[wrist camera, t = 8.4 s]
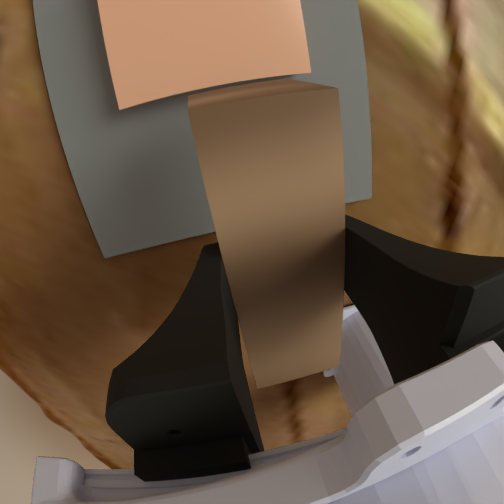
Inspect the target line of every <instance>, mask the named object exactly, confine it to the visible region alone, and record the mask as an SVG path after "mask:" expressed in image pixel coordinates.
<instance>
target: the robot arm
mask: <svg viewBox="0 0 504 504" xmlns="http://www.w3.org/2000/svg"><path fill="white" fill-rule="evenodd" d="M344 290H345V292H346V293H347V295H348V296H349V298H350V299H351V301H352V302H353V304H354V305H352V306H348V307H345V308H343V323H342V338H341V352H340V364H339V366H338V367H335V368H332V369H329V370H325V371H323V374H324V376H325V377H329V376H333V375H334V377H335V379H336V382H337V384H338V386H339V388H340V391H341V393H342V395H343V398H344V400H345V402H346V404H347V407H348V409H349V411H350V414H351V415H352V418H351V419H350V421H349V423H348V425H347V427H346V428H344V429H341V430H338V431H335V432H332V433H329V434H326V435H323V436H319V437H316V438H313V439H309V440H306V441H302V442H299V443H295V444H291V445H288V446H284V447H280V448H276V449H271V450H267V451H264V447H263V444H262V440H261V436H260V432H259V428H258V424H257V420H256V416H255V412H254V408H253V404H252V400H251V396H250V391H249V387H248V383H247V379H246V374H245V370H244V365H243V359H242V352H241V343H240V334H239V325H238V316H237V313H236V309H235V305H234V301H233V298H232V294H231V290H230V286H229V282H228V278H227V274H226V271H225V267H224V263H223V259H222V255H221V251H220V247H219V243H218V242H217V243H213V244H209V245H205V246H204V247H203V248H202V250H201V254H200V257H199V260H198V262H197V265H196V267H195V270H194V272H193V274H192V276H191V279H190V281H189V283H188V285H187V287H186V288H185V290H184V292H183V294H182V296H181V298H180V299H179V301H178V303H177V304H176V306H175V307H174V309H173V310H172V312H171V313H170V315H169V316H168V317H167V318H166V320H165V321H164V322H163V323H162V324H161V326H160V327H159V328H158V329H157V331H156V332H155V333H154V334H153V335H152V336H151V337H150V338H149V339H148V340H147V341H146V342H145V343H144V344H143V345H142V346H141V347H140V348H139V349H138V350H136V351H135V352H134V353H133V354H132V355H131V356H129V357H128V358H127V359H126V360H124V361H123V362H122V363H121V364H119V365H118V366H117V367H116V368H114V369H113V371H112V375H111V379H110V383H109V388H108V395H107V403H106V413H105V417H106V421H107V423H108V425H109V426H110V427H111V428H112V430H113V431H114V432H115V433H117V434H118V435H119V436H120V437H121V438H122V439H123V440H124V441H125V442H126V443H127V444H128V445H130V446H131V447H132V448H133V449H134V469H110V470H98V469H97V470H95V469H84V468H83V467H82V466H80V465H79V464H78V463H76V462H75V461H72V460H70V459H66V458H58V457H57V458H56V457H42V456H38V457H36V464H35V471H34V479H33V488H32V498H31V504H504V257H489V256H476V255H468V254H461V253H455V252H450V251H445V250H441V249H436V248H432V247H429V246H425V245H422V244H419V243H415V242H412V241H409V240H406V239H404V238H401V237H398V236H396V235H393V234H391V233H388V232H386V231H383V230H381V229H378V228H376V227H374V226H372V225H369V224H367V223H365V222H362V221H360V220H358V219H355V218H353V217H350V216H347V215H345V278H344Z"/></svg>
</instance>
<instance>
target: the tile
mask: <svg viewBox="0 0 504 504" xmlns="http://www.w3.org/2000/svg"><path fill="white" fill-rule="evenodd" d="M97 1H98V7H99V13H100V19H101V25H102V31H103V36H104V42H105V47H106V52H107V57H108V62H109V67H110V71H111V76H112V81H113V85H114V89H115V94H116V98H117V102H118V106H119V110H122V109H125V108H128V107H131V106H135V105H138V104H142V103H145V102H149V101H152V100H156V99H160V98H164V97H168V96H172V95H176V94H180V93H184V92H188V91H193V90H197V89H202V88H207V87H212V86H217V85H222V84H228V83H234V82H239V81H246V80H252V79H259V78H266V77H274V76H282V75H291V74H302V73H311V67H310V60H309V53H308V46H307V39H306V33H305V27H304V20H303V14H302V9H301V3H300V0H97Z"/></svg>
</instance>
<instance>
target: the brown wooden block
mask: <svg viewBox="0 0 504 504" xmlns="http://www.w3.org/2000/svg"><path fill="white" fill-rule="evenodd" d="M188 115H189V119H190V124H191V128H192V133H193V137H194V142H195V146H196V151H197V155H198V159H199V164H200V168H201V172H202V177H203V181H204V185H205V189H206V194H207V198H208V202H209V206H210V210H211V214H212V218H213V223H214V227H215V231H216V235H217V239H218V243H219V247H220V251H221V255H222V259H223V263H224V267H225V271H226V274H227V278H228V282H229V286H230V290H231V294H232V298H233V301H234V305H235V309H236V313H237V316H238V320H239V324H240V328H241V331H242V335H243V339H244V342H245V346H246V350H247V353H248V357H249V361H250V364H251V368H252V371H253V375H254V378H255V382H256V385H257V389H260V388H264V387H268V386H272V385H276V384H280V383H283V382H287V381H291V380H294V379H298V378H302V377H305V376H309V375H312V374H315V373H319V372H322V371H325V370H329V369H332V368H335V367H338V366H339V364H340V352H341V338H342V323H343V304H344V278H345V185H344V159H343V141H342V126H341V112H340V101H339V90H338V88H335V87H330V86H325V85H320V84H315V83H309V82H304V81H298V80H292V79H279V80H271V81H264V82H258V83H251V84H245V85H239V86H233V87H228V88H223V89H218V90H213V91H208V92H203V93H198V94H194V95H190V96H188Z"/></svg>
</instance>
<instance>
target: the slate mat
mask: <svg viewBox="0 0 504 504" xmlns="http://www.w3.org/2000/svg"><path fill="white" fill-rule="evenodd" d="M300 3H301V9H302V14H303V20H304V27H305V33H306V39H307V46H308V53H309V60H310V67H311V73H302V74H291V75H282V76H274V77H266V78H259V79H252V80H246V81H239V82H234V83H228V84H222V85H217V86H212V87H207V88H202V89H197V90H193V91H188V92H184V93H180V94H176V95H172V96H168V97H164V98H160V99H156V100H152V101H149V102H145V103H142V104H138V105H135V106H131V107H128V108H125V109H122V110H119V106H118V102H117V98H116V94H115V89H114V85H113V81H112V76H111V71H110V67H109V62H108V57H107V52H106V47H105V42H104V36H103V31H102V25H101V19H100V13H99V7H98V1H97V0H33V8H34V17H35V24H36V31H37V37H38V44H39V49H40V55H41V60H42V65H43V70H44V75H45V80H46V84H47V89H48V93H49V97H50V101H51V105H52V109H53V113H54V117H55V121H56V124H57V128H58V131H59V135H60V138H61V142H62V145H63V148H64V152H65V155H66V158H67V161H68V164H69V167H70V170H71V173H72V176H73V179H74V182H75V185H76V188H77V191H78V193H79V196H80V199H81V202H82V204H83V207H84V210H85V212H86V215H87V217H88V220H89V222H90V225H91V228H92V230H93V232H94V235H95V237H96V240H97V242H98V244H99V247H100V249H101V252H102V254H103V256H104V258H109V257H112V256H116V255H120V254H124V253H128V252H132V251H136V250H140V249H144V248H148V247H153V246H157V245H161V244H165V243H169V242H173V241H177V240H182V239H186V238H190V237H194V236H198V235H203V234H207V233H211V232H216V231H215V227H214V223H213V218H212V214H211V210H210V206H209V202H208V198H207V194H206V189H205V185H204V181H203V177H202V172H201V168H200V164H199V159H198V155H197V151H196V146H195V142H194V137H193V133H192V128H191V124H190V119H189V115H188V96H190V95H194V94H198V93H203V92H208V91H213V90H218V89H223V88H228V87H233V86H239V85H245V84H251V83H258V82H264V81H271V80H279V79H292V80H298V81H304V82H309V83H315V84H320V85H325V86H330V87H335V88H338V90H339V101H340V112H341V126H342V141H343V159H344V185H345V203H350V202H354V201H359V200H364V199H370V198H372V152H371V125H370V107H369V93H368V81H367V70H366V61H365V52H364V44H363V36H362V29H361V22H360V15H359V9H358V3H357V0H300Z"/></svg>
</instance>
